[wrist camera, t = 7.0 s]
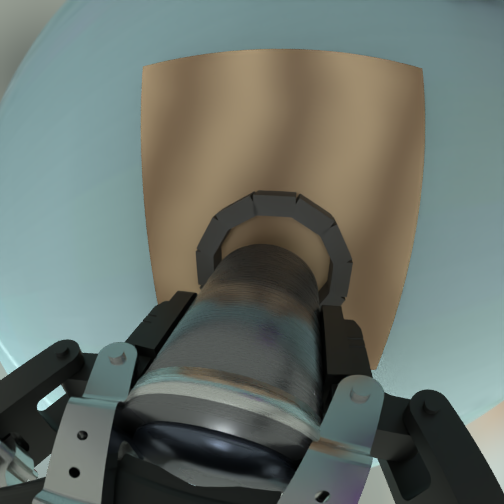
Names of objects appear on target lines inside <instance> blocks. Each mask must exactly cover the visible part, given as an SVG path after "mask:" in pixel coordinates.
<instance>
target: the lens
mask: <svg viewBox="0 0 504 504" xmlns="http://www.w3.org/2000/svg"><path fill="white" fill-rule="evenodd" d="M121 414H122V416H123V417H124V419H125V421H126V422H127V424H128V426H129V427H130V429H131V430H132V432H133V434H134V436H133V442H134V443H135V445H136V446H137V448H138V449H139V451H140V452H141V453H142V455H143V456H144V457H145V458H146V459H147V460H149V461H150V462H151V463H152V464H155V465H158V466H160V467H161V468H163V469H164V470H166V471H168V472H169V473H171V474H173V475H175V476H176V477H178V478H180V479H182V480H184V481H185V482H187V483H190V484H192V485H195V486H203V487H236V486H240V487H246V488H254V489H261V490H271V491H281V494H282V493H284V491H285V490H286V488H287V486H288V485H289V483H290V481H291V480H292V478H293V476H294V474H295V473H296V471H297V469H298V467H299V465H300V464H301V462H302V460H303V458H304V456H305V454H306V452H307V450H308V449H309V447H310V445H311V443H312V441H313V440H315V441H319V439H320V426H321V424H322V422H323V419H324V399H323V360H322V339H321V322H320V308H319V295H318V286H317V282H316V279H315V276H314V274H313V272H312V271H311V269H310V268H309V266H308V265H307V264H306V263H305V262H304V261H303V260H302V259H301V258H300V257H299V256H297V255H296V254H294V253H293V252H291V251H289V250H287V249H284V248H282V247H279V246H275V245H269V244H253V245H248V246H244V247H241V248H239V249H236V250H235V251H233V252H231V253H230V254H228V255H227V256H226V257H225V258H224V259H223V260H222V261H221V262H220V263H219V265H218V266H217V268H216V269H215V271H214V272H213V274H212V275H211V276H210V278H209V279H208V281H207V282H206V284H205V285H204V287H203V288H202V289H201V291H200V292H199V294H198V295H197V297H196V298H195V300H194V301H193V303H192V304H191V306H190V307H189V308H188V310H187V311H186V313H185V314H184V316H183V317H182V319H181V320H180V322H179V323H178V325H177V326H176V328H175V329H174V331H173V332H172V334H171V335H170V337H169V338H168V340H167V341H166V343H165V344H164V346H163V347H162V349H161V350H160V352H159V353H158V355H157V356H156V358H155V359H154V361H153V362H152V364H151V365H150V367H149V368H148V370H147V371H146V373H145V374H144V375H143V376H142V377H141V378H140V379H139V380H138V381H137V383H136V384H135V386H134V387H133V389H132V390H131V392H130V393H129V395H128V397H127V398H126V400H125V401H124V407H123V409H122V410H121Z"/></svg>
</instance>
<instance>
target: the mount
mask: <svg viewBox="0 0 504 504" xmlns="http://www.w3.org/2000/svg"><path fill="white" fill-rule="evenodd" d="M424 148H425V100H424V83H423V71H422V68H418V67H415V66H411V65H407V64H403V63H399V62H395V61H390V60H385V59H380V58H375V57H369V56H363V55H357V54H350V53H342V52H332V51H321V50H304V49H256V50H240V51H228V52H218V53H210V54H203V55H196V56H190V57H184V58H179V59H174V60H169V61H164V62H160V63H156V64H151V65H147V66H144V67H143V74H142V94H141V157H142V178H143V194H144V206H145V217H146V227H147V235H148V244H149V251H150V259H151V266H152V272H153V279H154V285H155V291H156V296H157V302H158V304H160V303H162V302H164V301H169V300H170V299H171V298H172V297H173V296H174V294H175V293H176V292H177V291H187V292H195V293H197V294H199V292H200V291H201V289H202V288H203V287H204V285H205V284H206V282H207V281H208V279H209V278H210V276H211V275H212V274H213V272H214V271H215V269H216V268H217V266H218V265H219V263H220V262H221V261H222V260H223V259H224V258H225V257H226V256H227V255H228V254H230V253H231V252H233V251H235V250H236V249H239V248H241V247H244V246H248V245H253V244H269V245H275V246H279V247H282V248H284V249H287V250H289V251H291V252H293V253H294V254H296V255H297V256H299V257H300V258H301V259H302V260H303V261H304V262H305V263H306V264H307V265H308V266H309V268H310V269H311V271H312V272H313V274H314V276H315V279H316V282H317V286H318V295H319V308H320V310H321V306H322V305H333V306H341V307H342V312H343V317H344V319H348V320H354V321H355V322H356V323H357V324H358V325H359V327H360V328H361V330H362V334H363V340H364V342H365V348H366V351H367V355H368V359H369V364H370V368H371V370H376V368H377V366H378V363H379V361H380V358H381V355H382V353H383V350H384V347H385V345H386V342H387V339H388V336H389V333H390V330H391V327H392V324H393V321H394V318H395V315H396V311H397V308H398V305H399V301H400V298H401V294H402V290H403V287H404V283H405V279H406V275H407V271H408V266H409V262H410V257H411V252H412V248H413V242H414V237H415V231H416V226H417V219H418V213H419V205H420V198H421V189H422V179H423V166H424Z"/></svg>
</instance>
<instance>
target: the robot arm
mask: <svg viewBox="0 0 504 504" xmlns="http://www.w3.org/2000/svg"><path fill="white" fill-rule="evenodd" d="M197 295H198V294H197V293H195V292H187V291H177V292H176V293H175V294H174V296H173V297H172V298H171V299H170V300H169V301H164V302H162V303H160V304H158V305H157V306H155V307H154V308H153V309H152V311H151V312H150V313H149V314H148V316H146V318H145V319H144V320H143V322H141V323H140V325H139V326H138V327H137V328H136V329H135V330H134V332H133V333H132V334H131V335H130V336H129V338H128V339H127V340H126V341H125V342H116V343H112V344H109V345H107V346H105V347H104V348H103V349H102V350H101V351H100V352H99V354H93V353H82V352H81V350H80V347H79V345H78V343H77V342H75V341H73V340H61V341H58V342H56V343H54V344H53V345H51V346H50V347H48V348H47V349H45V350H44V351H42V352H41V353H39V354H38V355H36V356H35V357H33V358H32V359H30V360H29V361H27V362H26V363H25V364H23V365H22V366H20V367H19V368H17V369H16V370H14V371H13V372H12V373H10V374H9V375H7V376H6V377H4V378H3V379H2V380H0V504H358V501H359V499H360V496H361V494H362V491H363V488H364V485H365V483H366V480H367V477H368V474H369V471H370V468H371V465H372V460H373V457H374V458H378V461H379V463H380V466H381V468H382V471H383V473H384V475H385V478H386V480H387V483H388V486H389V488H390V491H391V493H392V496H393V498H394V501H395V503H396V504H504V493H503V491H502V489H501V487H500V485H499V483H498V481H497V479H496V477H495V476H494V474H493V472H492V470H491V468H490V467H489V465H488V463H487V461H486V459H485V458H484V456H483V454H482V453H481V451H480V449H479V447H478V446H477V444H476V443H475V441H474V439H473V438H472V436H471V435H470V433H469V431H468V430H467V428H466V427H465V425H464V423H463V422H462V420H461V419H460V417H459V416H458V414H457V413H456V411H455V410H454V408H453V407H452V405H451V404H450V402H449V401H448V400H447V398H446V397H445V396H444V395H443V394H441V393H439V392H437V391H434V390H422V391H419V392H417V393H416V394H415V395H414V396H413V397H412V399H406V398H401V397H396V396H392V395H389V394H387V393H385V392H384V390H383V388H382V386H381V385H380V383H379V382H378V381H376V380H375V379H373V377H372V373H371V368H370V364H369V359H368V355H367V351H366V348H365V342H364V340H363V334H362V330H361V328H360V327H359V325H358V324H357V323H356V322H355V321H354V320H348V319H344V317H343V312H342V307H341V306H333V305H322V306H321V310H320V322H321V339H322V360H323V399H324V419H323V422H322V424H321V426H320V439H319V441H315V440H313V441H312V443H311V445H310V447H309V449H308V450H307V452H306V454H305V456H304V458H303V460H302V462H301V464H300V465H299V467H298V469H297V471H296V473H295V474H294V476H293V478H292V480H291V481H290V483H289V485H288V486H287V488H286V490H285V491H284V493H283V495H282V496H281V491H271V490H261V489H254V488H246V487H240V486H236V487H203V486H194V485H191V484H189V483H187V482H185V481H184V480H182V479H180V478H178V477H176V476H175V475H173V474H171V473H169V472H168V471H166V470H164V469H163V468H161V467H160V466H158V465H155V464H152V463H151V462H150V461H149V460H147V459H146V458H145V457H144V456H143V455H142V453H141V452H140V451H139V449H138V448H137V446H136V445H135V443H134V442H133V436H134V434H133V432H132V430H131V429H130V427H129V426H128V424H127V422H126V421H125V419H124V417H123V416H122V414H121V410H122V409H123V407H124V401H125V400H126V398H127V397H128V395H129V393H130V392H131V390H132V389H133V387H134V386H135V384H136V383H137V381H138V380H139V379H140V378H141V377H142V376H143V375H144V374H145V373H146V371H147V370H148V368H149V367H150V365H151V364H152V362H153V361H154V359H155V358H156V356H157V355H158V353H159V352H160V350H161V349H162V347H163V346H164V344H165V343H166V341H167V340H168V338H169V337H170V335H171V334H172V332H173V331H174V329H175V328H176V326H177V325H178V323H179V322H180V320H181V319H182V317H183V316H184V314H185V313H186V311H187V310H188V308H189V307H190V306H191V304H192V303H193V301H194V300H195V298H196V297H197ZM59 385H62V387H63V389H64V390H65V392H66V394H65V395H63V396H62V397H61V398H60V399H58V400H57V401H56V402H55V403H53V404H52V405H51V406H49V407H48V408H47V409H46V410H44V411H39V410H37V404H38V402H39V401H40V400H41V399H42V398H44V397H45V396H46V395H48V394H49V393H50V392H51V391H53V390H54V389H55V388H57V387H58V386H59ZM51 453H52V454H51ZM50 454H51V458H50V462H49V466H48V470H47V474H46V477H44V478H40V479H37V478H38V473H37V471H36V470H35V469H34V467H35V466H37V465H38V464H39V463H40V462H41V461H43V460H44V459H45V458H46V457H47V456H49V455H50ZM28 479H29V480H30V481H28V482H27V480H28ZM280 497H281V498H280Z"/></svg>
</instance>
